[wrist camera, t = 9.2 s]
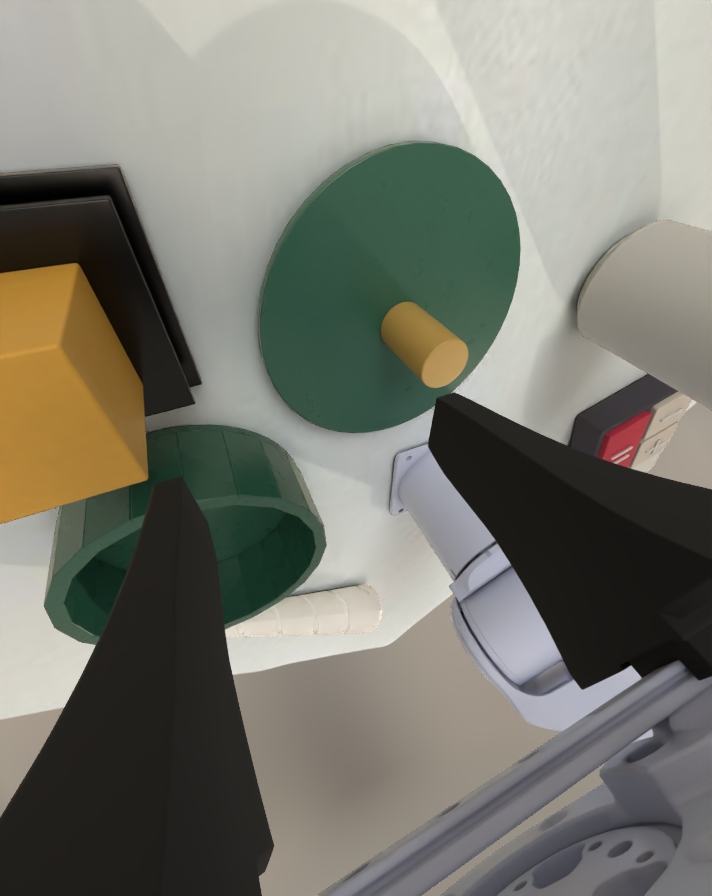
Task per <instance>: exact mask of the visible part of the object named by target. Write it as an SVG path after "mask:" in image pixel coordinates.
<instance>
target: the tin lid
mask: <svg viewBox="0 0 712 896" xmlns="http://www.w3.org/2000/svg"><path fill="white" fill-rule="evenodd" d="M519 265H520V235H519V227H518V222H517V217H516V212H515V210H514V207H513V204H512V201H511V199H510V196H509V194H508V193H507V191H506V189H505V187H504V186H503V184H502V182H501V180H500V179H499V178H498V177H497V176H496V174H495V173H494V172H493V171H492V170H491V169H490V167H489V166H487V165H486V164H485V163H483V162H482V161H481V160H480V159H478V158H477V157H476V156H474V155H472V154H470V153H468V152H466V151H464V150H462V149H460V148H458V147H454V146H449V145H445V144H441V143H436V142H428V141H409V142H403V143H398V144H392V145H388V146H385V147H382V148H379V149H377V150H374V151H371V152H368V153H366V154H364V155H362V156H360V157H359V158H357V159H355V160H353V161H352V162H350V163H348V164H346V165H344V166H343V167H342V168H340V169H339V170H338V171H337V172H335V173H334V174H333V175H331V176H330V177H329V178H328V179H326V180H325V181H324V182H323V183H322V184H321V185H320V186H319V187H318V188H317V189H316V190H315V191H314V192H313V193H312V194H311V195H310V196H309V197H308V198H307V199H306V200H305V201H304V203H303V204H302V205H301V207H300V208H299V209H298V211H297V212H296V213H295V215H294V216H293V217H292V219H291V220H290V221H289V223H288V225H287V227H286V228H285V230H284V232H283V234H282V235H281V237H280V239H279V241H278V243H277V244H276V247H275V249H274V252H273V254H272V256H271V259H270V261H269V264H268V266H267V269H266V273H265V277H264V281H263V284H262V288H261V293H260V301H259V309H258V336H259V343H260V349H261V354H262V357H263V361H264V364H265V367H266V370H267V372H268V374H269V376H270V378H271V380H272V383H273V385H274V387H275V388H276V390H277V391H278V393H279V394H280V396H281V397H282V399H283V400H284V401H285V402H286V403H287V404H288V405H289V406H290V407H291V408H292V409H293V410H294V411H295V412H296V413H298V414H299V415H300V416H302V417H303V418H304V419H306V420H308V421H310V422H312V423H313V424H315V425H318V426H320V427H323V428H326V429H329V430H334V431H339V432H348V433H364V432H372V431H378V430H383V429H386V428H390V427H393V426H396V425H399V424H402V423H404V422H406V421H409V420H411V419H413V418H415V417H417V416H419V415H420V414H422V413H424V412H426V411H427V410H429V409H430V408H432V407H433V406H435V404H436V398H438V397H441V396H444V395H448V394H450V393H452V392H453V391H454V390H455V389H456V388H457V387H458V386H459V385H460V384H461V383H462V382H463V381H464V380H465V379H466V378H467V377H468V376H469V375H470V373H471V372H472V371H473V370H474V369H475V368H476V366H477V365H478V364H479V362H480V361H481V360H482V358H483V357H484V356H485V354H486V353H487V351H488V350H489V348H490V346H491V345H492V343H493V342H494V340H495V338H496V336H497V334H498V332H499V331H500V329H501V326H502V324H503V322H504V320H505V318H506V315H507V313H508V310H509V307H510V304H511V302H512V299H513V295H514V291H515V287H516V283H517V278H518V271H519Z"/></svg>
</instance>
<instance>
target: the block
mask: <svg viewBox="0 0 712 896" xmlns="http://www.w3.org/2000/svg"><path fill="white" fill-rule="evenodd" d="M147 479H148V463H147V446H146V429H145V412H144V395H143V384H142V382H141V380H140V378H139V377H138V375H137V373H136V371H135V369H134V367H133V365H132V363H131V361H130V360H129V358H128V356H127V354H126V352H125V350H124V348H123V346H122V344H121V343H120V341H119V339H118V337H117V335H116V333H115V331H114V329H113V327H112V325H111V324H110V322H109V320H108V318H107V316H106V314H105V312H104V310H103V308H102V307H101V305H100V303H99V301H98V299H97V297H96V295H95V293H94V291H93V290H92V288H91V286H90V284H89V282H88V280H87V278H86V276H85V274H84V272H83V271H82V269H81V267H80V265H79V264H77V263H71V264H64V265H56V266H49V267H42V268H35V269H28V270H21V271H14V272H6V273H0V524H2V523H6V522H9V521H12V520H16V519H19V518H22V517H26V516H29V515H32V514H36V513H39V512H42V511H46V510H49V509H52V508H56V507H59V506H62V505H66V504H69V503H72V502H76V501H79V500H82V499H86V498H89V497H92V496H96V495H99V494H102V493H106V492H109V491H112V490H116V489H119V488H122V487H126V486H129V485H132V484H136V483H139V482H142V481H146V480H147Z"/></svg>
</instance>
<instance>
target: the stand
mask: <svg viewBox="0 0 712 896" xmlns="http://www.w3.org/2000/svg"><path fill="white" fill-rule="evenodd" d="M71 263H77V264H79V265H80V267H81V269H82V271H83V272H84V274H85V276H86V278H87V280H88V282H89V284H90V286H91V288H92V290H93V291H94V293H95V295H96V297H97V299H98V301H99V303H100V305H101V307H102V308H103V310H104V312H105V314H106V316H107V318H108V320H109V322H110V324H111V325H112V327H113V329H114V331H115V333H116V335H117V337H118V339H119V341H120V343H121V344H122V346H123V348H124V350H125V352H126V354H127V356H128V358H129V360H130V361H131V363H132V365H133V367H134V369H135V371H136V373H137V375H138V377H139V378H140V380H141V382H142V384H143V395H144V412H145V417H146V416H150V415H153V414H157V413H161V412H165V411H169V410H173V409H177V408H181V407H185V406H189V405H193V404H195V399H194V396H193V393H192V391H191V389H190V387H193V386H197V385H201V384H202V381H201V377H200V375H199V372H198V369H197V367H196V364H195V361H194V359H193V356H192V354H191V351H190V348H189V346H188V343H187V340H186V338H185V335H184V333H183V330H182V327H181V325H180V322H179V319H178V317H177V314H176V312H175V309H174V306H173V304H172V301H171V298H170V296H169V293H168V290H167V288H166V285H165V283H164V280H163V277H162V275H161V272H160V269H159V267H158V264H157V262H156V259H155V256H154V254H153V251H152V248H151V246H150V243H149V241H148V238H147V235H146V233H145V230H144V227H143V225H142V222H141V220H140V217H139V214H138V212H137V209H136V206H135V204H134V201H133V199H132V196H131V193H130V191H129V188H128V185H127V183H126V180H125V178H124V175H123V172H122V170H121V167H120V166H119V165H118V164H113V165H100V166H87V167H73V168H60V169H47V170H34V171H20V172H7V173H0V273H6V272H14V271H21V270H28V269H35V268H42V267H49V266H56V265H64V264H71Z"/></svg>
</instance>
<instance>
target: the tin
mask: <svg viewBox="0 0 712 896" xmlns="http://www.w3.org/2000/svg"><path fill="white" fill-rule="evenodd" d="M146 446H147V463H148V479H147V480H146V481H142V482H139V483H136V484H132V485H129V486H126V487H122V488H119V489H116V490H112V491H109V492H106V493H102V494H99V495H96V496H92V497H89V498H86V499H82V500H79V501H76V502H72V503H69V504H66V505H62V506H60V509H59V514H58V518H57V521H56V526H55V533H54V540H53V546H52V553H51V560H50V566H49V573H48V580H47V586H46V593H45V600H44V608H45V610H46V612H47V614H48V616H49V618H50V620H51V622H52V624H53V626H54V628H56V629H57V630H59V631H61V632H63V633H64V634H66V635H68V636H70V637H72V638H74V639H75V640H77V641H79V642H82V643H88V644H94V645H96V644H97V642H98V640H99V638H100V635H101V633H102V631H103V629H104V627H105V624H106V622H107V620H108V617H109V615H110V612H111V610H112V607H113V605H114V603H115V600H116V598H117V595H118V593H119V590H120V588H121V585H122V583H123V580H124V578H125V575H126V572H127V569H128V566H129V564H130V561H131V558H132V555H133V552H134V549H135V546H136V543H137V540H138V537H139V534H140V531H141V527H142V524H143V521H144V517H145V514H146V510H147V506H148V503H149V499H150V495H151V491H152V488H153V487H154V485H155V484H158V483H161V482H164V481H168V480H171V479H174V478H177V477H181V476H182V478H183V479H184V481H185V483H186V485H187V486H188V488H189V490H190V492H191V493H192V495H193V497H194V499H195V501H196V502H197V504H198V506H199V508H200V509H201V511H202V513H203V515H204V516H205V518H206V520H207V522H208V524H209V529H210V533H211V537H212V541H213V545H214V549H215V553H216V558H217V565H218V574H219V582H220V591H221V599H222V608H223V617H224V626H225V629H227V628H230V627H232V626H234V625H237V624H239V623H241V622H244V621H246V620H248V619H251V618H253V617H254V616H257V615H258V614H260V613H262V612H263V611H265V610H267V609H269V608H270V607H272V606H274V605H275V604H277V603H279V602H280V601H281V600H283V599H284V598H286V597H287V596H288V595H289V594H291V593H292V592H293V591H294V590H296V589H297V588H298V587H299V586H300V585H302V584H303V583H304V582H305V581H306V580H307V578H308V577H309V576H310V575H311V574H312V572H313V571H314V570H315V569H316V567H317V566H318V565H319V563H320V561H321V558H322V556H323V553H324V550H325V548H326V537H325V529H324V525H323V522H322V520H321V518H320V515H319V513H318V511H317V509H316V506H315V504H314V502H313V500H312V497H311V495H310V493H309V490H308V488H307V486H306V484H305V481H304V479H303V477H302V474H301V472H300V470H299V469H298V467H297V466H296V464H295V462H294V461H293V459H292V458H291V456H290V455H289V454H288V453H287V452H286V451H285V450H284V449H283V448H282V447H281V446H279V445H278V444H277V443H275V442H273V441H272V440H270V439H268V438H266V437H264V436H262V435H259V434H257V433H254V432H251V431H247V430H244V429H240V428H234V427H228V426H218V425H190V426H182V427H173V428H168V429H163V430H159V431H154V432H151V433H148V434H146Z"/></svg>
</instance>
